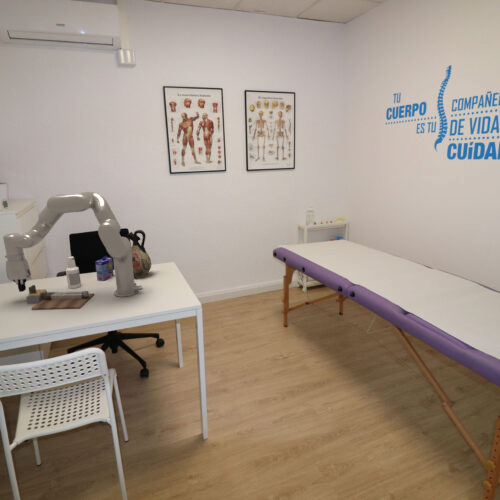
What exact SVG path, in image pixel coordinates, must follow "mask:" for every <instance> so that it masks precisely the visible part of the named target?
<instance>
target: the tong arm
mask: <svg viewBox="0 0 500 500" xmlns="http://www.w3.org/2000/svg"><path fill="white" fill-rule="evenodd" d="M81 292H82V294H45V295H44V296H43V298H44V300H77V299H86V298H89V293H90V292H89V291H88V290H84V291H81Z"/></svg>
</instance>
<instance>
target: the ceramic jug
mask: <svg viewBox="0 0 500 500" xmlns="http://www.w3.org/2000/svg"><path fill="white" fill-rule="evenodd" d="M138 234H140V235H142V239H141V237H140V236H139V235H138ZM124 237H125V238H127V239H128V240H129V241H130V240H131V241H132V244H131V250H132V264H133V274H134V279H136V278H137V279H139V278H140V277H141V278H145V277H146V276H148V275H149V274H148V273H149V271H150V270H151V268H152V260H151V257H150V255H149V253H148V252H147V250H146V248H145V241H146V233H145V231H144V230H141V229H137V230H134V232H133V231H130V232H129V233H127V235H126V236H124ZM139 241H141V243H140V242H139ZM144 276H145V277H144Z"/></svg>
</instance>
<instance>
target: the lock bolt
mask: <svg viewBox="0 0 500 500" xmlns="http://www.w3.org/2000/svg"><path fill="white" fill-rule="evenodd" d="M46 291H47V289H37V288H36V285H35V284H33V285H30V286H29V287H28V292H29V293H28V294H27V296H41V295H42V294H44V293H45V292H46Z"/></svg>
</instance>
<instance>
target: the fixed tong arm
mask: <svg viewBox="0 0 500 500" xmlns="http://www.w3.org/2000/svg"><path fill="white" fill-rule="evenodd" d="M82 292H83V291H57V292H56V291H54V292H53V291H51V292H48V291H47V294H82Z"/></svg>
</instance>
